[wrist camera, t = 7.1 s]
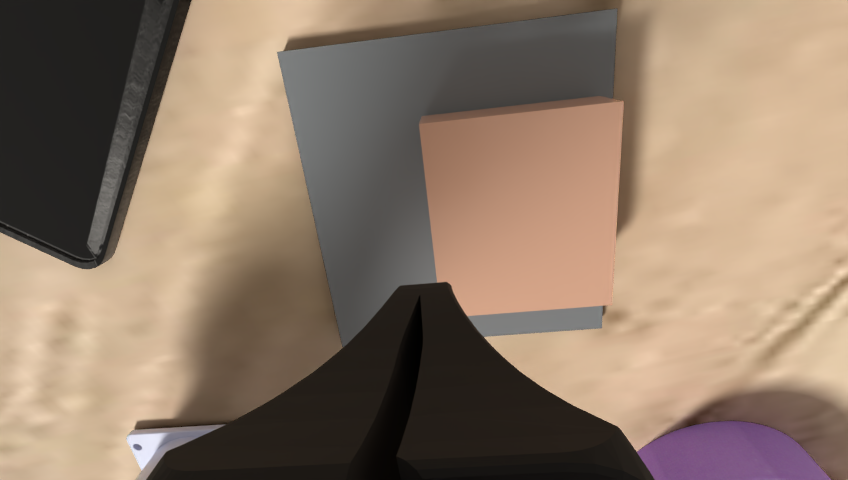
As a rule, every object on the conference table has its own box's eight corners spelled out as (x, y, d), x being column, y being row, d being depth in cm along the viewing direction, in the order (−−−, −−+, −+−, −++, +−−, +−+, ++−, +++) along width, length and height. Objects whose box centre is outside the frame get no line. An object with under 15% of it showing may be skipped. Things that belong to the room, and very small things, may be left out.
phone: (190, -38, 16) (97, 277, 21) (206, -32, 17) (114, 267, 22) (-33, -170, 15) (-73, 199, 20) (-1, -155, 16) (-47, 192, 21)
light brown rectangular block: (441, 287, 21) (591, 274, 20) (441, 317, 18) (612, 304, 18) (422, 115, 18) (597, 95, 17) (419, 123, 15) (623, 100, 15)
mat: (597, 321, 22) (601, 328, 21) (345, 340, 23) (342, 346, 22) (611, 10, 17) (617, 8, 16) (282, 52, 18) (276, 52, 17)
